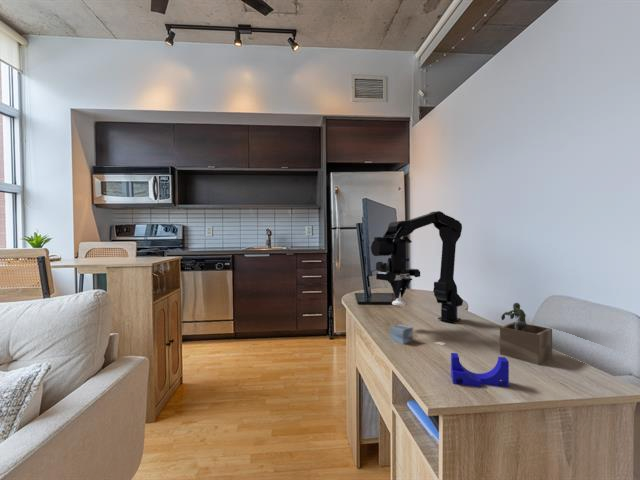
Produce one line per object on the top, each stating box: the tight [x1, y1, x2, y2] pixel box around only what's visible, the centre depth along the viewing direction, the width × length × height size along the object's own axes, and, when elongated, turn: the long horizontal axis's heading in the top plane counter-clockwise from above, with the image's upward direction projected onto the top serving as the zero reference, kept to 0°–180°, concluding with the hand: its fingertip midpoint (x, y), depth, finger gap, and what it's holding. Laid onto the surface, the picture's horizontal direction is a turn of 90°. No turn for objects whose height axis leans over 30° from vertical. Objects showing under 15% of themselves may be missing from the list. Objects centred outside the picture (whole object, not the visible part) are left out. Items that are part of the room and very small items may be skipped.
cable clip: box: [450, 352, 510, 388], centre depth 78 cm, size 12×4×6 cm, turn 74°
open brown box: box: [499, 321, 553, 366], centre depth 95 cm, size 10×10×8 cm
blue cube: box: [390, 323, 414, 345], centre depth 108 cm, size 5×5×5 cm
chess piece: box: [391, 279, 407, 307], centre depth 122 cm, size 5×5×10 cm
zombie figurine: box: [500, 302, 528, 332], centre depth 99 cm, size 5×7×15 cm
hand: (398, 297), depth 122 cm, fingers closed on chess piece, 2 cm apart
